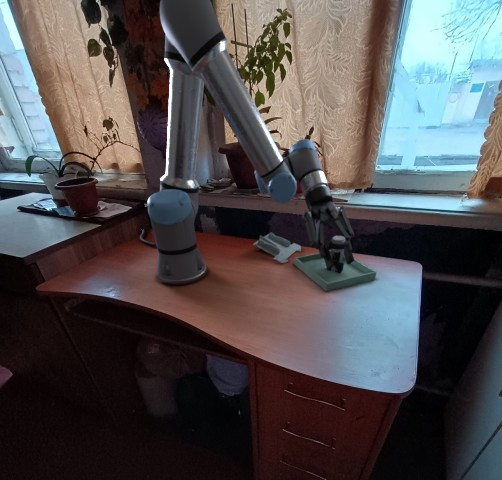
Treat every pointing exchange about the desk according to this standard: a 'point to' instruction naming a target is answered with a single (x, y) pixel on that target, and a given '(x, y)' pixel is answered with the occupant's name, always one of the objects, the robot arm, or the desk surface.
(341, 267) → the push button
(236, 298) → the desk surface
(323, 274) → the tray
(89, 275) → the desk surface
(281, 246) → the metal bracket
